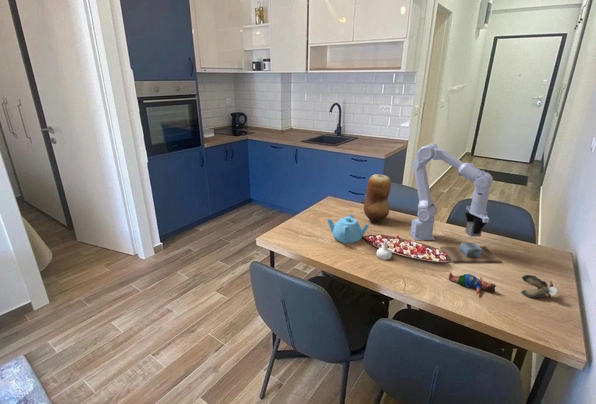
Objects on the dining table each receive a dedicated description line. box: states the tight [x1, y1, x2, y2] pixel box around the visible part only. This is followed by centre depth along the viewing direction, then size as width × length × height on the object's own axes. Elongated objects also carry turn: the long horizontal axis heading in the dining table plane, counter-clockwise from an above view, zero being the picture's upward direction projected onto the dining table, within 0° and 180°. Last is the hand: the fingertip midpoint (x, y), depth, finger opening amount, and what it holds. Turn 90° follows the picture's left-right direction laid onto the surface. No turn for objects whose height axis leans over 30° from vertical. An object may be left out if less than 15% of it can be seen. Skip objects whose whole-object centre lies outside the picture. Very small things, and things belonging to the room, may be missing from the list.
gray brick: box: [465, 221, 483, 238], centre depth 137 cm, size 4×4×5 cm
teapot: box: [327, 214, 370, 244], centre depth 150 cm, size 15×15×11 cm
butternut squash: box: [363, 173, 392, 222], centre depth 167 cm, size 14×13×25 cm
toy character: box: [447, 271, 497, 296], centre depth 115 cm, size 12×5×15 cm
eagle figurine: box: [520, 274, 558, 298], centre depth 109 cm, size 8×7×9 cm
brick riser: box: [439, 242, 503, 264], centre depth 135 cm, size 20×12×4 cm, turn 90°
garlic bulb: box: [375, 239, 393, 261], centre depth 133 cm, size 6×6×8 cm
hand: (473, 231), depth 138 cm, fingers closed on gray brick, 4 cm apart
